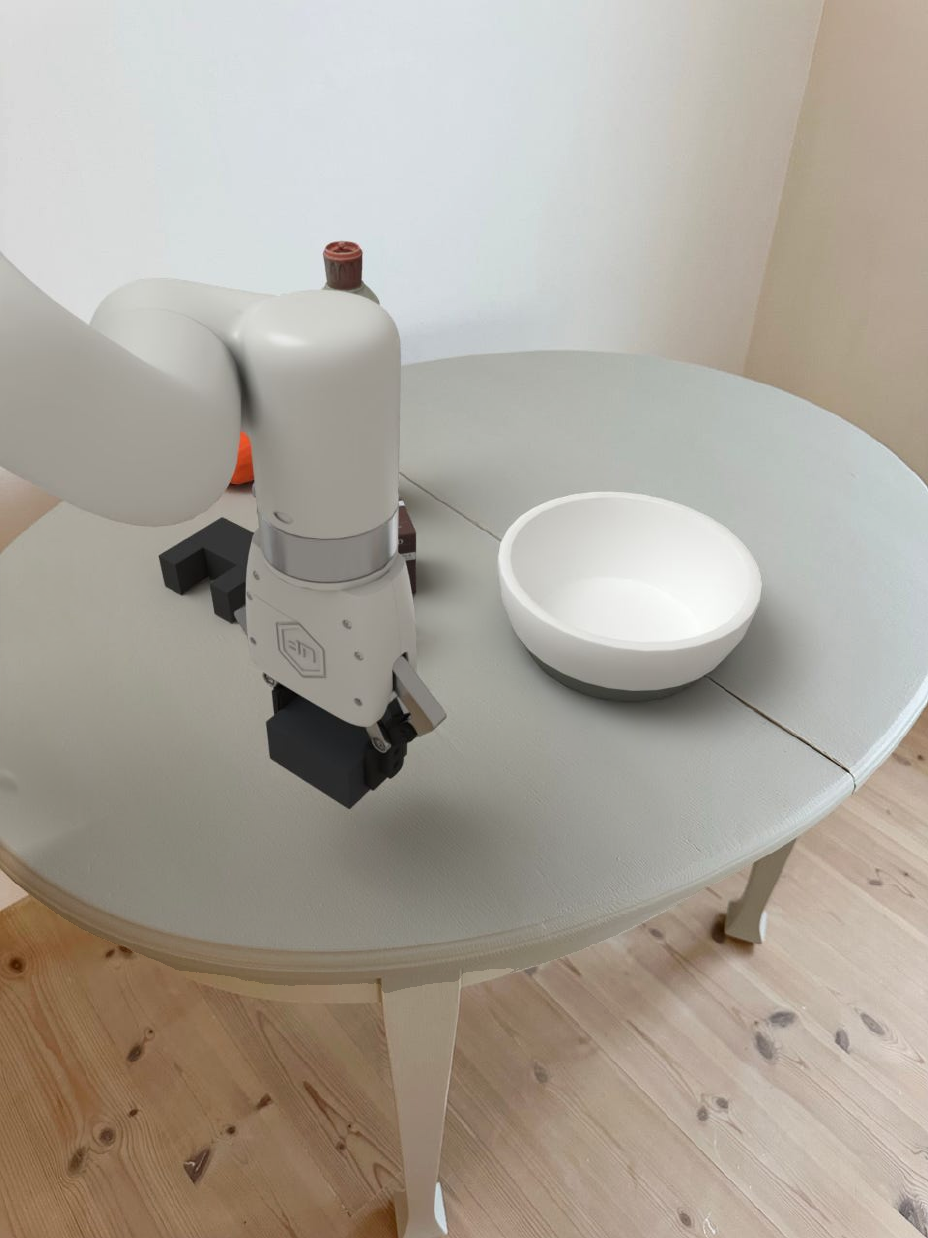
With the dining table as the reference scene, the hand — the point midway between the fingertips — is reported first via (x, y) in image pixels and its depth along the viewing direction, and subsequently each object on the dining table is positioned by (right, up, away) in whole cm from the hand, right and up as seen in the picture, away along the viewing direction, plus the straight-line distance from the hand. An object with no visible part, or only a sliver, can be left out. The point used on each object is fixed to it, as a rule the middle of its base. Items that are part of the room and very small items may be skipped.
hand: (338, 746), depth 64 cm
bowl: (+22, +7, +24) cm, 33 cm away
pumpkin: (-16, +24, +42) cm, 51 cm away
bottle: (-3, +20, +38) cm, 43 cm away
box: (0, +12, +29) cm, 31 cm away
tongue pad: (+1, 0, +1) cm, 2 cm away
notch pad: (-14, +12, +27) cm, 33 cm away
